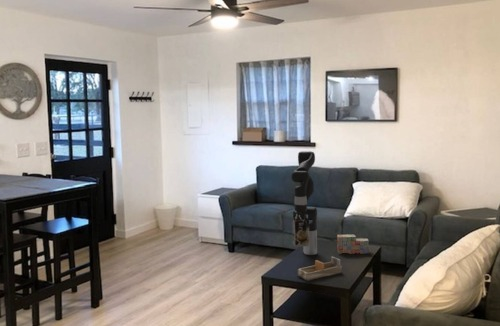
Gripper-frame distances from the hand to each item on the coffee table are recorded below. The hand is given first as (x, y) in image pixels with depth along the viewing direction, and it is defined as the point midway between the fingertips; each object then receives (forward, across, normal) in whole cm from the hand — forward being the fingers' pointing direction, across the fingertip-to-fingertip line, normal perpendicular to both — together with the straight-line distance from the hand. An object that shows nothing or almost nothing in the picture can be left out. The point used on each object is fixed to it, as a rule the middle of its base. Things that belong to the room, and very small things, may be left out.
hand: (300, 229), depth 290 cm
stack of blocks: (+28, -17, +55) cm, 64 cm away
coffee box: (+10, 0, 0) cm, 10 cm away
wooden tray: (+28, +7, +9) cm, 30 cm away
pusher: (+27, +7, +9) cm, 29 cm away
